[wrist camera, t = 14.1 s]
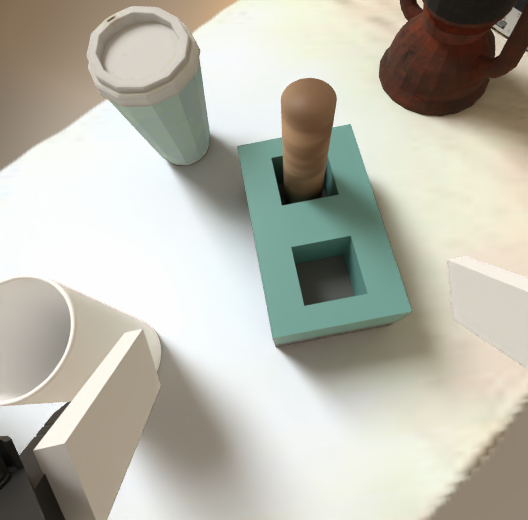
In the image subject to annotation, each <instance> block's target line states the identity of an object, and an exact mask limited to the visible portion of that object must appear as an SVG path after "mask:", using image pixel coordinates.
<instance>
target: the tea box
mask: <svg viewBox="0 0 528 520" xmlns="http://www.w3.org/2000/svg"><path fill="white" fill-rule="evenodd" d="M527 3H528V0H518V1H517V2H516V4H515V5H514V6H513V8H512V10H511V11H510V12H509V13H508V14H507V15H506V16H505V17H504V18H503V19H502V20H500V21H498V22H497V23H496V24H495V25H494V26H493V27H494V28H495V29H496V30H498V31H499V32H501V33H503V34H504V35H506V36H508V37H509V36H510V34H511V32H512V31H513V29H514V27H515V25H516V23H517V21H518V19H519V18H520V16H521V14H522V12H523V10H524V8H525V6H526V4H527ZM527 50H528V48H527Z"/></svg>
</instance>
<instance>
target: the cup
mask: <svg viewBox="0 0 528 520" xmlns="http://www.w3.org/2000/svg"><path fill="white" fill-rule="evenodd" d="M139 329H143V331H144V334H145V337H146V340H147V343H148V346H149V349H150V352H151V356H152V359H153V362H154V365H155V368H156V371H157V370H158V368H159V365H160V361H161V344H160V340H159V337H158V335H157V333H156V332H155V330H154V329H153V328H152V327H151V326H150V325H149V324H148V323H146V322H144V321H142V320H140V319H138V318H136V317H134V316H131V315H129V314H127V313H125V312H122V311H120V310H118V309H116V308H113V307H111V306H109V305H107V304H105V303H102V302H100V301H98V300H96V299H93V298H91V297H89V296H87V295H84V294H82V293H80V292H78V291H76V290H73V289H71V288H69V287H67V286H64V285H62V284H60V283H57V282H55V281H53V280H51V279H48V278H45V277H41V276H37V275H17V276H12V277H8V278H5V279H2V280H0V406H9V405H25V404H40V403H55V402H70V401H72V400H73V399H74V397H75V396H76V395H77V394H78V392H79V391H80V390H81V388H82V387H83V386H84V385H85V383H86V382H87V381H88V379H89V378H90V377H91V376H92V374H93V373H94V372H95V370H96V369H97V368H98V367H99V365H100V364H101V363H102V361H103V360H104V359H105V358H106V356H107V355H108V354H109V352H110V351H111V350H112V349H113V347H114V346H115V345H116V344H117V342H118V341H119V340H120V338H121V337H122V336H123V335H124V333H125V332H130V331H134V330H139Z"/></svg>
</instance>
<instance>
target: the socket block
mask: <svg viewBox="0 0 528 520" xmlns="http://www.w3.org/2000/svg"><path fill="white" fill-rule="evenodd" d="M237 148H238V153H239V159H240V164H241V170H242V175H243V180H244V186H245V191H246V197H247V202H248V207H249V213H250V218H251V224H252V229H253V234H254V240H255V245H256V251H257V256H258V261H259V267H260V272H261V278H262V283H263V288H264V294H265V299H266V305H267V310H268V315H269V321H270V326H271V332H272V337H273V340H274V343H275V346H276V347H278V346H283V345H289V344H294V343H299V342H304V341H309V340H315V339H320V338H325V337H330V336H335V335H341V334H346V333H351V332H356V331H361V330H367V329H372V328H377V327H382V326H388V325H391V324H393V323H394V322H396V321H398V320H399V319H401V318H402V317H404V316H406V315H407V314H409V313H410V312H412V309H411V306H410V303H409V300H408V297H407V294H406V291H405V288H404V285H403V282H402V279H401V276H400V273H399V270H398V267H397V264H396V261H395V258H394V254H393V251H392V248H391V245H390V242H389V239H388V236H387V233H386V230H385V227H384V224H383V221H382V218H381V215H380V212H379V209H378V206H377V203H376V200H375V197H374V194H373V191H372V188H371V185H370V182H369V179H368V175H367V172H366V169H365V166H364V163H363V160H362V157H361V154H360V151H359V148H358V145H357V142H356V139H355V136H354V133H353V130H352V127H351V124H349V125H344V126H338V127H333V128H332V133H331V139H330V145H329V151H328V157H327V164H326V170H325V176H324V182H323V189H322V195H321V198H319V199H313V200H308V201H303V202H298V203H293V204H288V205H285V203H284V174H283V144H282V138H277V139H272V140H267V141H262V142H257V143H251V144H246V145H241V146H237Z"/></svg>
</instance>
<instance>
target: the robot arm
mask: <svg viewBox="0 0 528 520" xmlns="http://www.w3.org/2000/svg"><path fill="white" fill-rule="evenodd" d="M447 264H448V274H449V284H450V294H451V304H452V314H453V320H455V321H456V322H458V323H459V324H461V325H462V326H464V327H465V328H467V329H468V330H470V331H471V332H473V333H474V334H475V335H477V336H478V337H480V338H481V339H483V340H484V341H486V342H487V343H489V344H490V345H492V346H493V347H495V348H496V349H498V350H499V351H501V352H502V353H504V354H505V355H507V356H508V357H510V358H511V359H513V360H514V361H516V362H517V363H519V364H520V365H522V366H523V367H525V368H526V369H528V278H527V277H524V276H522V275H519V274H516V273H513V272H510V271H507V270H504V269H501V268H499V267H496V266H493V265H490V264H487V263H484V262H481V261H478V260H476V259H473V258H470V257H467V256H461V257H457V258H453V259H448V260H447ZM160 387H161V383H160V380H159V377H158V374H157V371H156V368H155V365H154V362H153V359H152V356H151V352H150V349H149V346H148V343H147V340H146V337H145V334H144V331H143V329H139V330H134V331H130V332H125V333H124V335H123V336H122V337H121V338H120V340H119V341H118V342H117V344H116V345H115V346H114V347H113V349H112V350H111V351H110V352H109V354H108V355H107V356H106V358H105V359H104V360H103V361H102V363H101V364H100V365H99V367H98V368H97V369H96V370H95V372H94V373H93V374H92V376H91V377H90V378H89V379H88V381H87V382H86V383H85V385H84V386H83V387H82V388H81V390H80V391H79V392H78V394H77V395H76V396H75V397H74V399H73V400H72V401H70V402H67V403H66V404H65V405H64V406H62V407H61V408H60V409H59V410H57V411H56V412H55V413H54V414H53V415H52V416H51V417H50V419H49V420H48V421H47V422H46V423H45V425H44V427H42V428H41V430H40V431H39V432H38V433H37V436H36V437H34V438H33V439H32V441H31V442H30V443H29V444H28V446H27V447H26V448H25V449H24V450H23V452H22V453H21V454H20V455H18V452H17V450H16V448H15V446H14V444H13V441H12V439H11V438H10V437H8V436H0V520H107V518H108V516H109V514H110V511H111V509H112V506H113V504H114V501H115V499H116V496H117V494H118V491H119V489H120V486H121V484H122V481H123V479H124V476H125V474H126V471H127V469H128V467H129V464H130V462H131V459H132V457H133V454H134V452H135V449H136V447H137V444H138V442H139V439H140V437H141V434H142V432H143V429H144V427H145V424H146V422H147V419H148V417H149V415H150V412H151V410H152V407H153V405H154V402H155V400H156V397H157V395H158V392H159V390H160Z"/></svg>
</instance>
